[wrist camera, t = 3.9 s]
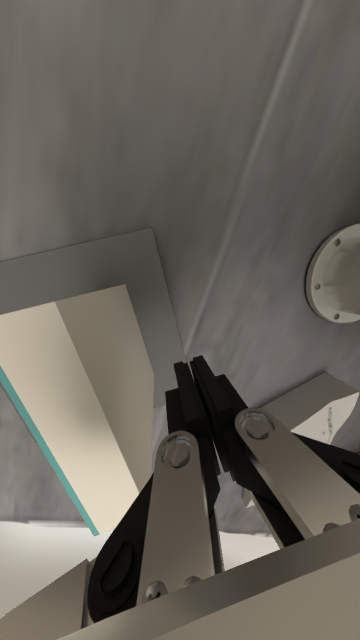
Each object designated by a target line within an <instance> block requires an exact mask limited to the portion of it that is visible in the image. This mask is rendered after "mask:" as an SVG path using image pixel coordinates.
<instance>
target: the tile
mask: <svg viewBox="0 0 360 640" xmlns="http://www.w3.org/2000/svg"><path fill="white" fill-rule="evenodd" d="M0 382H1V384H2V385H3V387H4V388H5V390H6V392H7V393H8V395H9V397H10V398H11V400H12V402H13V403H14V405H15V407H16V408H17V410H18V412H19V413H20V415H21V417H22V418H23V420H24V421H25V423H26V425H27V426H28V428H29V430H30V431H31V433H32V435H33V436H34V438H35V440H36V441H37V443H38V445H39V446H40V448H41V449H42V451H43V453H44V454H45V456H46V458H47V459H48V461H49V463H50V464H51V466H52V468H53V469H54V471H55V473H56V474H57V476H58V477H59V479H60V481H61V482H62V484H63V486H64V487H65V489H66V491H67V492H68V494H69V496H70V497H71V499H72V501H73V502H74V504H75V505H76V507H77V509H78V510H79V512H80V514H81V515H82V517H83V519H84V520H85V522H86V524H87V525H88V527H89V529H90V530H91V532H92V534H93V535H94V536H96V535H99V534H102V533H105V532H108V531H111V530H114V529H115V528H116V527H117V525H118V524H119V522H120V521H121V519H122V518H123V516H124V515H125V514H126V512H127V511H128V509H129V508H130V506H131V505H132V503H133V502H134V501H135V499H136V498H137V496H138V495H139V493H140V492H141V490H142V489H143V488H144V486H145V485H146V483H147V482H148V480H149V479H150V477H151V464H152V430H153V396H154V373H153V369H152V366H151V363H150V360H149V357H148V354H147V351H146V348H145V344H144V341H143V338H142V335H141V332H140V329H139V326H138V322H137V319H136V316H135V313H134V310H133V307H132V304H131V301H130V297H129V294H128V291H127V288H126V285H125V284H123V285H119V286H115V287H111V288H107V289H103V290H99V291H95V292H91V293H87V294H83V295H79V296H75V297H71V298H67V299H63V300H59V301H55V302H51V303H47V304H43V305H39V306H35V307H31V308H27V309H22V310H18V311H14V312H10V313H6V314H2V315H0Z"/></svg>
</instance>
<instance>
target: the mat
mask: <svg viewBox="0 0 360 640" xmlns="http://www.w3.org/2000/svg"><path fill="white" fill-rule="evenodd" d="M123 284H125V285H126V288H127V291H128V294H129V297H130V301H131V304H132V307H133V310H134V313H135V316H136V319H137V322H138V326H139V329H140V332H141V335H142V338H143V341H144V344H145V348H146V351H147V354H148V357H149V360H150V363H151V366H152V369H153V373H154V396H153V408H156V407H159V406H163V405H166V398H165V391H169V390H172V389H175V388H178V384H177V379H176V375H175V370H174V365H173V364H174V363H177V362H181V361H183V363H186V359H185V355H184V351H183V347H182V343H181V339H180V335H179V332H178V328H177V324H176V320H175V316H174V312H173V308H172V304H171V300H170V296H169V292H168V288H167V285H166V281H165V277H164V273H163V269H162V265H161V261H160V257H159V253H158V249H157V245H156V241H155V237H154V234H153V230H152V227H151V228H147V229H142V230H138V231H134V232H129V233H125V234H121V235H116V236H112V237H107V238H103V239H99V240H94V241H90V242H86V243H81V244H77V245H73V246H68V247H64V248H59V249H55V250H51V251H46V252H42V253H38V254H33V255H29V256H25V257H20V258H16V259H11V260H7V261H3V262H0V315H2V314H6V313H10V312H14V311H18V310H22V309H27V308H31V307H35V306H39V305H43V304H47V303H51V302H55V301H59V300H63V299H67V298H71V297H75V296H79V295H83V294H87V293H91V292H95V291H99V290H103V289H107V288H111V287H115V286H119V285H123ZM0 385H1V387H2V388H3V390H4V392H5V393H6V395H7V396H8V398H9V400H10V401H11V403H12V405H13V406H14V408H15V410H16V411H17V413H18V414H19V416H20V418H21V419H22V421H23V423H24V424H25V426H26V428H27V429H28V431H29V433H30V434H31V436H32V437H33V439H34V441H35V442H36V443H37V441H36V440H35V438H34V436H33V435H32V433H31V431H30V430H29V428H28V426H27V425H26V423H25V421H24V420H23V418H22V417H21V415H20V413H19V412H18V410H17V408H16V407H15V405H14V403H13V402H12V400H11V398H10V397H9V395H8V393H7V392H6V390H5V388H4V387H3V385H2V384H1V382H0Z"/></svg>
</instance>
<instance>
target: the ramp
mask: <svg viewBox="0 0 360 640" xmlns="http://www.w3.org/2000/svg"><path fill="white" fill-rule="evenodd" d="M359 392H360V391H358V390H356V389H355V388H353V387H351V386H349V385H348V384H346V383H344V382H342V381H341V380H339V379H337V378H336V377H334V376H332V375H330V374H329V373H327V372H324V373H322V374H320V375H319V376H317V377H315V378H313V379H311V380H310V381H308V382H306V383H304V384H302V385H300V386H299V387H297V388H295V389H293V390H291V391H290V392H288V393H286V394H284V395H282V396H281V397H279V398H277V399H275V400H273V401H271V402H270V403H268V404H266V405H264V406H262V407H261V408H259V409H263V410H265V411H267V412H269V413H270V414H272V415H273V416H274V417H275V418H277V419H278V420H279V421H280V422H281V423H282V424H283V425H284V426H285V427H286V428H288V429H289V430H290V431H291V432H293V433H296V434H299V435H302V436H305V437H308V438H311V439H314V440H317V441H320V442H323V443H326V444H329V445H330V443H331V441H332V439H333V437H334V435H335V433H336V432H337V431H338V429H339V428H340V427H341V426H342V425H343V423H344V422H345V421H346V420H347V418H348V417H349V415H350V414H351V412H352V410H353V408H354V406H355V404H356V401H357V398H358V395H359ZM243 501H244V503H245V506H246V508H247V507H250V506H252V505H255V504H254V502H253V501H252V499H251V497H250V495H249V493H248V490H247V489H246V488H244V492H243Z"/></svg>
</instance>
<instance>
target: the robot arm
mask: <svg viewBox="0 0 360 640" xmlns="http://www.w3.org/2000/svg"><path fill="white" fill-rule="evenodd" d="M306 293H307V299H308V301H309V304H310V306H311V307H312V309H313V310H314V312H315V313H316V314H317V315H319V316H320V317H321V318H323V319H325V320H328V321H332V322H336V323H351V322H354V321H358V320H360V224H355V225H351V226H348V227H345V228H343V229H341V230H339V231H337V232H335V233H334V234H333V235H331V236H330V237H329V238H328V239H327V240H326V241H325V242H324V243H323V244H322V245H321V246H320V248H319V249H318V250H317V252H316V253H315V255H314V257H313V259H312V261H311V263H310V266H309V269H308V273H307V278H306ZM173 365H174V370H175V375H176V379H177V384H178V388H175V389H172V390H169V391H165V398H166V410H167V421H168V432H169V435H168V436H166V437H165V438H164V439H163V440H162V442H161V443H160V445H159V447H158V450H157V454H156V461H155V468H154V473H153V475H152V476H151V477H150V479H149V480H148V482H147V483H146V485H145V486H144V488H143V489H142V490H141V492H140V493H139V495H138V496H137V498H136V499H135V501H134V502H133V503H132V505H131V506H130V508H129V509H128V511H127V512H126V514H125V515H124V516H123V518H122V519H121V521H120V522H119V524H118V525H117V527H116V528H115V529H114V531H113V533H112V534H111V535H110V537H109V538H108V540H107V541H106V542H105V544H104V546H103V547H102V549H101V551H100V553H99V554H98V556H97V557H96V558H95V559H93V560H92V561H91V562H89V561H88V560H87V559H86V560H84V561H83V562H82V563H80V564H78V565H77V566H76V567H74V568H73V569H71V570H70V571H68V572H67V573H66V574H64V575H62V576H61V577H60V578H58V579H57V580H55V581H54V582H52V583H51V584H49V585H48V586H47V587H45V588H44V589H42V590H41V591H39V592H38V593H36V594H35V595H34V596H32V597H30V598H29V599H28V600H26V601H25V602H23V603H22V604H20V605H19V606H17V607H16V608H14V609H13V610H11V611H10V612H9V613H7V614H6V615H5V616H4V617H2V618H1V619H0V640H360V455H359V454H357V453H354V452H351V451H348V450H345V449H342V448H339V447H335V446H332V445H329V444H326V443H323V442H320V441H317V440H314V439H311V438H308V437H305V436H302V435H299V434H296V433H293V432H291V431H290V430H289V429H288V428H286V427H285V426H284V425H283V424H282V423H281V422H280V421H279V420H278V419H277V418H275V417H274V416H273V415H272V414H270V413H269V412H267V411H265V410H263V409H259V408H248V407H247V405H246V404H245V403H244V401H243V400H242V398H241V397H240V396H239V394H238V393H237V391H236V390H235V389H234V387H233V386H232V384H231V383H230V382H229V380H228V379H227V377H226V376H225V375H224V374H222V375H219V376H214V374H213V372H212V371H211V369H210V367H209V366H208V364H207V363H206V361H205V359H204V358H203V356H198V357H195V358H193V361H190V365H191V369H192V373H193V377H194V380H193V377H192V375H191V372H190V369H189V367H188V364H187V363H183V361H181V362H177V363H174V364H173ZM194 381H195V383H194ZM213 441H214V443H213ZM214 444H215V447H216V450H217V453H218V455H219V458H220V461H221V464H222V467H223V469H224V472H228V471H230V474H231V477H232V479H233V481H235V480H236V482H237V484H239V485H241V486H242V487H244V488H246V489H247V490H248V493H249V495H250V497H251V499H252V501H253V502H254V504H255V506H256V508H257V509H258V511H259V513H260V515H261V516H262V518H263V520H264V522H265V523H266V525H267V527H268V529H269V530H270V532H271V534H272V536H273V537H274V539H275V541H276V543H277V544H278V546H279V548H280V550H278V551H275V552H272V553H270V554H268V555H265V556H262V557H260V558H257V559H255V560H252V561H250V562H247V563H244V564H242V565H239V566H237V567H234V568H232V569H229V570H227V571H225V570H224V563H223V556H222V550H221V543H220V535H219V529H218V522H217V515H216V509H215V505H214V504H215V502H216V499H217V497H218V494H219V491H220V486H219V482H218V478H217V475H220V474H221V472H220V468H219V464H218V460H217V456H216V452H215V448H214Z"/></svg>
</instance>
